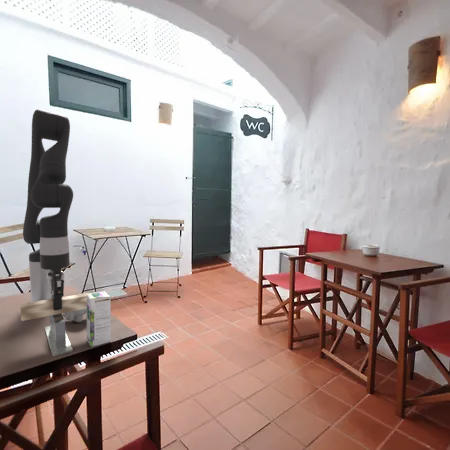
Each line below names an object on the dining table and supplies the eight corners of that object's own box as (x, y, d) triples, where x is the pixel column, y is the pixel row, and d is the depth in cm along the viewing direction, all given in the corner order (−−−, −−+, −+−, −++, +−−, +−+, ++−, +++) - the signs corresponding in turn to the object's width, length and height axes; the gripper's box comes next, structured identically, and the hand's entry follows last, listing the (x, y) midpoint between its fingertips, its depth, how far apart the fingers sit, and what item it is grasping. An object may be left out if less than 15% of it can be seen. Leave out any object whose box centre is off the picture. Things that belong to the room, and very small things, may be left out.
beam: (88, 304, 95) (87, 292, 95) (90, 307, 93) (90, 295, 92) (20, 317, 84) (20, 303, 84) (21, 321, 82) (20, 307, 81)
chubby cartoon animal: (99, 326, 104) (108, 303, 105) (63, 322, 97) (74, 297, 98) (93, 319, 110) (102, 297, 111) (59, 314, 102) (69, 291, 103)
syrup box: (86, 339, 89) (85, 293, 88) (106, 334, 93) (105, 290, 91) (90, 347, 85) (89, 299, 83) (111, 341, 88) (111, 295, 87)
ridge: (44, 328, 96) (43, 305, 95) (61, 324, 99) (61, 301, 98) (52, 356, 80) (51, 328, 79) (72, 350, 83) (72, 323, 82)
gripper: (73, 254, 83) (75, 312, 85) (65, 246, 94) (66, 298, 96) (42, 257, 79) (45, 318, 80) (37, 248, 90) (40, 303, 92)
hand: (56, 307), depth 88 cm, fingers closed on beam, 3 cm apart
